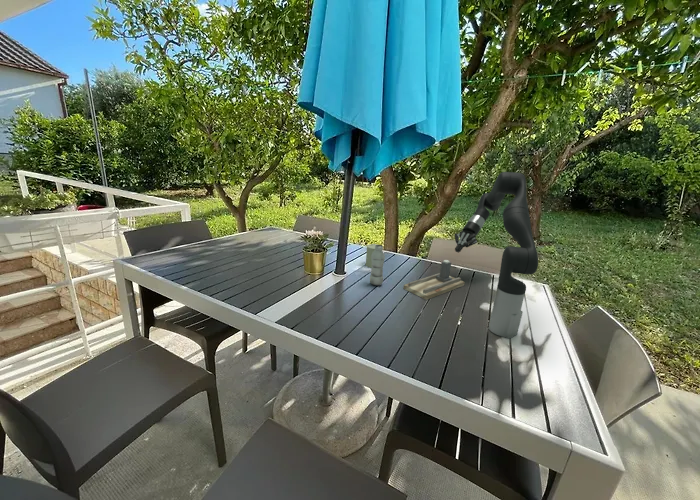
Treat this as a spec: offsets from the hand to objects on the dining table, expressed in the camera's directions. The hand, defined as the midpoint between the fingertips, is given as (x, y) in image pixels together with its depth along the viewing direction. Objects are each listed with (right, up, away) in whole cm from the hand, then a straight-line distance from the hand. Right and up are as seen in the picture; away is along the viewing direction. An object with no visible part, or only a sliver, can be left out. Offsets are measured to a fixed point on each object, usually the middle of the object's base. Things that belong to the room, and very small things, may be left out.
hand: (456, 251), depth 159 cm
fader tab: (-7, -15, 0) cm, 16 cm away
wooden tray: (-12, -18, -4) cm, 22 cm away
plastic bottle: (-42, -17, -4) cm, 45 cm away
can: (-41, -8, +22) cm, 47 cm away
